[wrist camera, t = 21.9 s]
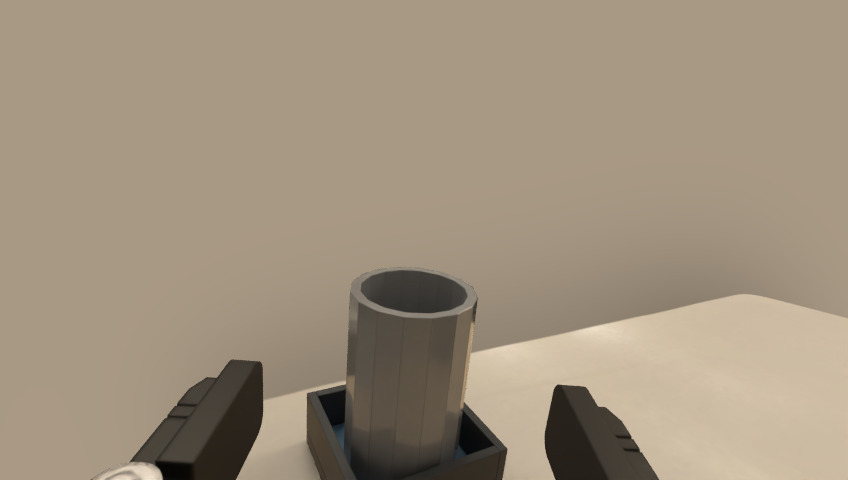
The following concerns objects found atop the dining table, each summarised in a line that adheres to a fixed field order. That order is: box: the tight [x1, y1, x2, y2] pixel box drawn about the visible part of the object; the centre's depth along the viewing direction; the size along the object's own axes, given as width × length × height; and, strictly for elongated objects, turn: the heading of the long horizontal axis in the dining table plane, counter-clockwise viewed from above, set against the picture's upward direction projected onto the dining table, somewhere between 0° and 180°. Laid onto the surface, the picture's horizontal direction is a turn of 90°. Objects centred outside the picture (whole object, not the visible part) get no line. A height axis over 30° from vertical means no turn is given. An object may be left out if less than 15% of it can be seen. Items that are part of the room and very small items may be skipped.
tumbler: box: [343, 267, 478, 480], centre depth 23 cm, size 6×6×10 cm
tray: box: [307, 385, 507, 480], centre depth 24 cm, size 8×8×3 cm
